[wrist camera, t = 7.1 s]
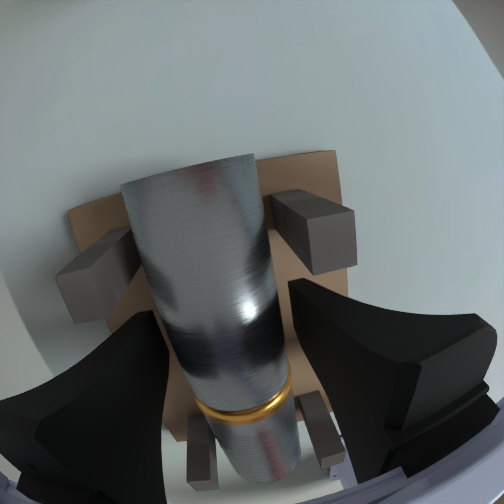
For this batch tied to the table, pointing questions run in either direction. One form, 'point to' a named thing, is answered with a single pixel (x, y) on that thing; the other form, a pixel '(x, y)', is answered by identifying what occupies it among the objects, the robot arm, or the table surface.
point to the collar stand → (286, 269)
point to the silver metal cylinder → (221, 305)
